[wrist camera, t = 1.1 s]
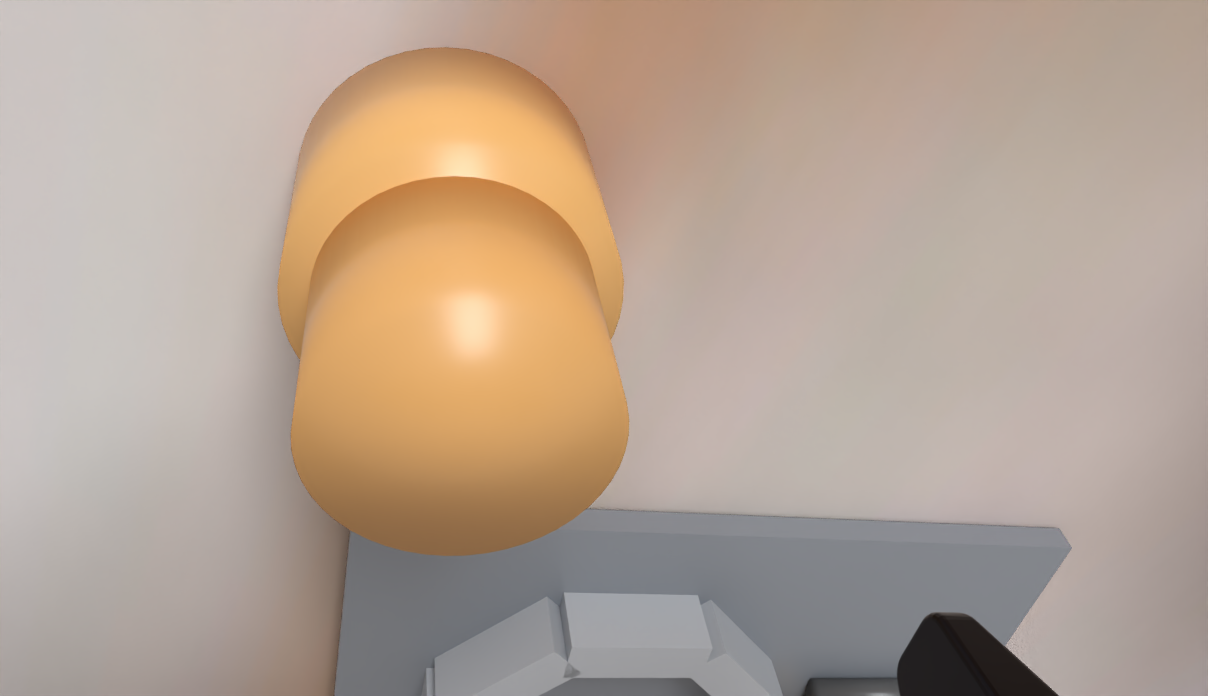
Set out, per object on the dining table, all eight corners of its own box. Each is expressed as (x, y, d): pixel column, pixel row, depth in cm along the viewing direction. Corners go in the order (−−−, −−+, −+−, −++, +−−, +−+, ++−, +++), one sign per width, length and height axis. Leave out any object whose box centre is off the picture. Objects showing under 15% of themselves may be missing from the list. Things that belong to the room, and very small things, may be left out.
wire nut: (618, 71, 16) (708, 294, 11) (562, 317, 18) (616, 581, 14) (303, 24, 15) (254, 251, 10) (292, 293, 17) (250, 572, 13)
